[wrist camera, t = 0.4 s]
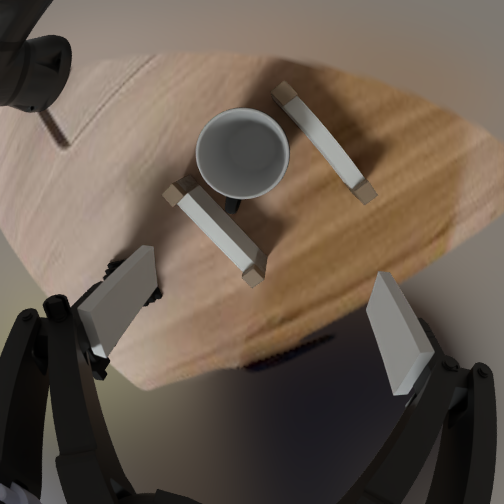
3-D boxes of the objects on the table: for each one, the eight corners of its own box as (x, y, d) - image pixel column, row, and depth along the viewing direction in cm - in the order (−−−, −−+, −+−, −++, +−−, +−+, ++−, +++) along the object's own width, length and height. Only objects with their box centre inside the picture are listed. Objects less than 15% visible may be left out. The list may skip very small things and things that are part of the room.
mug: (228, 107, 31) (207, 98, 22) (296, 125, 32) (301, 121, 22) (207, 192, 37) (181, 214, 28) (270, 210, 37) (265, 238, 28)
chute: (180, 184, 36) (161, 195, 31) (284, 89, 30) (284, 80, 24) (257, 265, 40) (252, 288, 35) (363, 184, 34) (378, 195, 28)
